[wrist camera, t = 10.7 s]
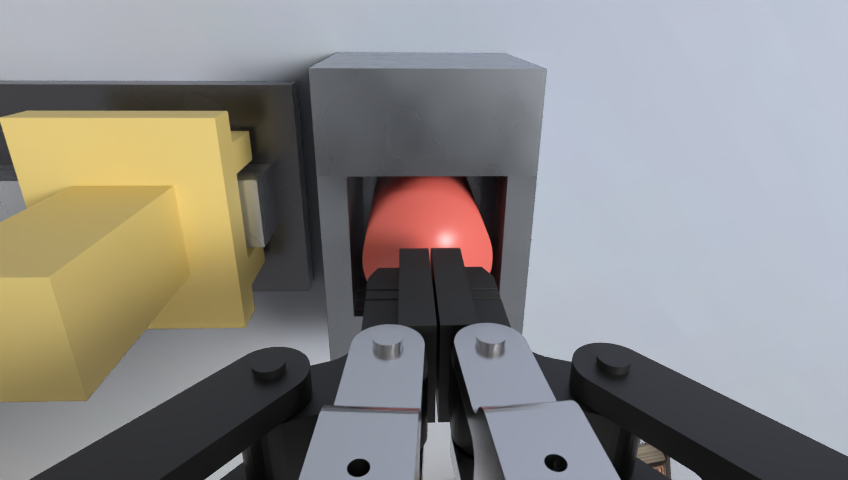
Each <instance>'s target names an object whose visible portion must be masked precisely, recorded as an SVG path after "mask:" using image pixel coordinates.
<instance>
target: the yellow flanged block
mask: <svg viewBox="0 0 848 480" xmlns="http://www.w3.org/2000/svg"><path fill="white" fill-rule="evenodd" d="M0 123H1V126H2V129H3V133H4V136H5V139H6V142H7V146H8V149H9V152H10V155H11V159H12V162H13V165H14V168H15V172H16V175H17V178H18V181H19V185H20V188H21V191H22V194H23V198H24V201H25V204H26V208H27V209H25V210H23V211H21V212H19V213H17V214H15V215H13V216H11V217H9V218H7V219H5V220H4V221H2V222H0V402H40V401H87V400H88V399H89V397H90V396H91V395H92V394H93V393H94V391H95V390H96V389H97V388H98V387H99V385H100V384H101V383H102V382H103V380H104V379H105V378H106V377H107V376H108V374H109V373H110V372H111V371H112V370H113V368H114V367H115V366H116V365H117V364H118V362H119V361H120V360H121V359H122V358H123V356H124V355H125V354H126V353H127V351H128V350H129V349H130V348H131V347H132V345H133V344H134V343H135V342H136V341H137V339H138V338H139V337H140V336H141V335H142V333H143V332H144V331H145V330H146V329H177V328H246V326H247V324H248V322H249V320H250V318H251V316H252V314H253V313H254V311H255V305H254V298H253V291H252V283H253V281H254V280H255V278H256V276H257V274H258V273H259V271H260V269H261V268H262V266H263V264H264V262H265V257H264V249H263V247H246V240H245V232H244V225H243V218H242V211H241V203H240V196H239V189H238V182H237V173H238V172H239V171H240V170H242V169H243V168H244V167H245V166H246V165H247V164H248V163H249V162H250V161H251V160H252V152H251V144H250V136H249V131H230V123H229V116H228V111H24V112H20V113H16V114H12V115H8V116H4V117H0Z"/></svg>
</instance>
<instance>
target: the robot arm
mask: <svg viewBox="0 0 848 480" xmlns="http://www.w3.org/2000/svg"><path fill="white" fill-rule="evenodd" d="M435 393H436V402H437V414H438V422H450V428H451V443H450V454H451V460H452V465H453V470H454V475H455V480H671V479H670V478H668V477H667V476H665V475H664V474H662V473H661V472H659V471H657V470H656V469H654V468H653V467H651V466H650V465H648V464H647V463H645V462H644V461H642V460H640V459H639V458H637V452H638V448H639V443H640V439H642V440H643V441H645V442H646V443H648V444H650V445H651V446H653V447H655V448H656V449H658V450H659V451H661V452H663V453H664V454H666V455H668V456H669V457H671V458H672V459H674V460H676V461H677V462H679V463H681V464H682V465H684V466H685V467H687V468H689V469H690V470H692V471H693V472H695V473H696V474H697V475H698V476H699V477H700V478H701V479H702V480H848V456H846V455H843V454H841V453H839V452H837V451H835V450H833V449H831V448H829V447H827V446H825V445H823V444H821V443H819V442H817V441H815V440H813V439H811V438H809V437H807V436H805V435H803V434H801V433H799V432H797V431H795V430H793V429H791V428H789V427H787V426H785V425H783V424H781V423H779V422H777V421H775V420H773V419H771V418H769V417H767V416H765V415H763V414H761V413H758V412H756V411H754V410H752V409H750V408H748V407H746V406H744V405H742V404H740V403H738V402H736V401H734V400H732V399H730V398H728V397H726V396H724V395H722V394H720V393H718V392H716V391H714V390H712V389H710V388H708V387H706V386H704V385H702V384H700V383H698V382H696V381H694V380H692V379H690V378H688V377H686V376H684V375H682V374H680V373H678V372H676V371H674V370H671V369H669V368H667V367H665V366H663V365H661V364H659V363H657V362H655V361H653V360H651V359H649V358H647V357H645V356H643V355H641V354H639V353H637V352H635V351H633V350H631V349H628V348H626V347H623V346H620V345H615V344H610V343H592V344H587V345H584V346H582V347H580V348H578V349H577V350H576V351H575V353H574V354H573V358H572V362H569V361H564V360H558V359H553V358H549V357H544V356H541V355H538V354H536V353H534V352H532V351H531V349H530V347H529V345H528V343H527V341H526V339H525V338H524V337H523V336H522V335H521V334H520V333H519V332H518V331H516V330H514V329H512V328H511V326H510V323H509V320H508V317H507V315H506V312H505V309H504V306H503V303H502V300H501V297H500V294H499V291H498V290H497V285H496V282H495V279H494V276H492V275H491V274H490V273H489V272H488V271H486V270H485V269H484V268H483V267H465V266H464V262H463V258H462V253H461V249H460V248H431V250H430V257H429V249H428V248H399V268H377V269H376V270H375V271H374V272H373V273H372V274H371V275H370V277H369V278H368V283H367V292H366V298H365V306H364V313H363V321H362V329H361V332H360V333H359V334H357V335H356V336H355V338H354V339H353V341H352V343H351V346H350V350H349V353H347V354H346V355H344V356H342V357H340V358H338V359H335V360H332V361H329V362H325V363H321V364H316V365H312V366H310V362H309V360H308V358H307V356H306V355H305V354H303V353H302V352H300V351H298V350H296V349H292V348H287V347H270V348H265V349H261V350H257V351H254V352H252V353H249V354H247V355H246V356H244V357H242V358H240V359H238V360H237V361H235V362H233V363H231V364H230V365H228V366H226V367H225V368H223V369H221V370H219V371H218V372H216V373H214V374H212V375H211V376H209V377H207V378H205V379H204V380H202V381H200V382H198V383H197V384H195V385H193V386H191V387H190V388H188V389H186V390H185V391H183V392H181V393H179V394H178V395H176V396H174V397H172V398H171V399H169V400H167V401H165V402H164V403H162V404H160V405H158V406H157V407H155V408H153V409H151V410H150V411H148V412H146V413H145V414H143V415H141V416H139V417H138V418H136V419H134V420H132V421H131V422H129V423H127V424H125V425H124V426H122V427H120V428H118V429H117V430H115V431H113V432H111V433H110V434H108V435H106V436H105V437H103V438H101V439H99V440H98V441H96V442H94V443H92V444H91V445H89V446H87V447H85V448H84V449H82V450H80V451H78V452H77V453H75V454H73V455H71V456H70V457H68V458H66V459H65V460H63V461H61V462H59V463H58V464H56V465H54V466H52V467H51V468H49V469H47V470H45V471H44V472H42V473H40V474H38V475H37V476H35V477H33V478H31V479H30V480H204V479H206V478H207V477H209V476H210V475H211V474H213V473H214V472H215V471H217V470H218V469H219V468H221V467H222V466H224V465H225V464H226V463H228V462H229V461H230V460H232V459H233V458H234V457H236V456H237V455H239V454H240V453H241V452H242V455H243V461H244V462H243V463H241V464H240V465H239V466H237V467H236V468H235V469H233V470H232V471H231V472H229V473H228V474H227V475H225V476H224V477H223V478H221V479H220V480H423V462H424V444H425V443H426V440H427V423H431V422H435Z"/></svg>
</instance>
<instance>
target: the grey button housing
mask: <svg viewBox="0 0 848 480" xmlns="http://www.w3.org/2000/svg"><path fill="white" fill-rule="evenodd" d="M308 69H309V82H310V96H311V109H312V122H313V135H314V148H315V161H316V175H317V188H318V201H319V214H320V227H321V240H322V254H323V267H324V280H325V293H326V306H327V319H328V333H329V346H330V359H331V361H332V360H335V359H338V358H340V357H342V356H344V355H346V354H347V353H349V350H350V346H351V343H352V341H353V339H354V338H355V336H356V335H357V334H359V333H360V332H361V329H362V321H363V313H364V306H365V298H366V292H367V283H368V281H367V279H366V277H365V273H364V269H363V262H362V257H363V248H364V243H365V237H366V232H367V226H368V221H369V215H370V210H371V204H372V199H373V193H374V188H375V185H376V183H377V181H378V178H379V177H380V176H465V177H466V178H467V180H468V183H469V185H470V188H471V190H472V193H473V196H474V198H475V201H476V204H477V206H478V209H479V212H480V214H481V217H482V220H483V222H484V225H485V228H486V230H487V233H488V236H489V239H490V242H491V246H492V252H493V260H492V268H491V271H490V274H491V275H492V276H494V279H495V282H496V285H497V290H498V291H499V294H500V297H501V300H502V303H503V306H504V309H505V312H506V315H507V317H508V320H509V323H510V326H511V328H512V329H514V330H516V331H518V332H519V333H520V334H521V335H522V329H523V319H524V308H525V297H526V287H527V276H528V265H529V255H530V244H531V234H532V223H533V212H534V202H535V191H536V180H537V170H538V159H539V148H540V138H541V127H542V116H543V106H544V95H545V84H546V74H547V69H546V68H543V67H540V66H538V65H535V64H532V63H530V62H527V61H525V60H522V59H519V58H517V57H514V56H511V55H509V54H506V53H349V52H337V53H335V54H333V55H332V56H330V57H328V58H326V59H324V60H322V61H321V62H319V63H317V64H315V65H313V66H311V67H309V68H308Z"/></svg>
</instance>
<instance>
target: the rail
mask: <svg viewBox="0 0 848 480" xmlns="http://www.w3.org/2000/svg"><path fill="white" fill-rule="evenodd" d="M24 111H228V116H229V123H230V131H249V136H250V144H251V152H252V160H251V161H250V162H249V163H248V164H247V165H246V166H245V167H244V168H243V169H242V170H240V171H239V172H238V173H237V182H238V189H239V196H240V203H241V211H242V218H243V225H244V232H245V240H246V247H263V249H264V257H265V262H264V264H263V266H262V268H261V269H260V271H259V273H258V274H257V276H256V278H255V280H254V281H253V283H252V291H306V290H310V289H311V286H312V283H313V280H314V275H313V264H312V252H311V240H310V228H309V217H308V205H307V193H306V181H305V169H304V158H303V146H302V134H301V122H300V110H299V99H298V87H297V82H267V81H0V117H4V116H8V115H12V114H16V113H20V112H24ZM25 209H27V208H26V204H25V201H24V198H23V194H22V191H21V188H20V185H19V181H18V178H17V175H16V172H15V168H14V165H13V162H12V159H11V155H10V152H9V149H8V146H7V142H6V139H5V136H4V133H3V129H2V126H1V123H0V222H2V221H4V220H5V219H7V218H9V217H11V216H13V215H15V214H17V213H19V212H21V211H23V210H25Z"/></svg>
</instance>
